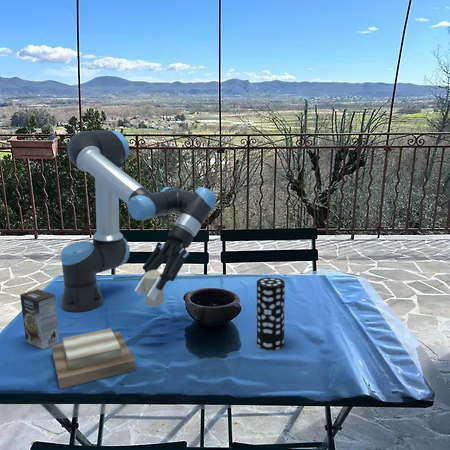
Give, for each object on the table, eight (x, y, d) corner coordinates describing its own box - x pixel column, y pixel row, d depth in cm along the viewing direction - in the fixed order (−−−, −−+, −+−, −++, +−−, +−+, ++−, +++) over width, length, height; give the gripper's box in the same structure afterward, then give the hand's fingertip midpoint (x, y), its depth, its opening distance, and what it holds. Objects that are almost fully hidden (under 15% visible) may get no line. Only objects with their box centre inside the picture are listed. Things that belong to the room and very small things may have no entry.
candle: (160, 306, 133) (158, 274, 131) (142, 305, 135) (140, 273, 132) (166, 299, 139) (164, 268, 136) (149, 298, 140) (147, 267, 138)
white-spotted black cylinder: (266, 352, 133) (266, 288, 129) (251, 341, 140) (251, 280, 136) (289, 346, 137) (290, 283, 133) (274, 335, 144) (274, 275, 140)
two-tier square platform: (52, 354, 134) (50, 336, 133) (119, 340, 143) (118, 322, 141) (59, 389, 117) (57, 368, 115) (135, 370, 125) (134, 350, 124)
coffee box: (25, 342, 142) (18, 294, 139) (43, 334, 147) (37, 288, 144) (42, 350, 137) (36, 300, 134) (60, 341, 142) (55, 293, 139)
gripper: (211, 243, 137) (171, 309, 129) (172, 233, 150) (133, 293, 142) (197, 229, 132) (155, 297, 125) (158, 220, 145) (118, 282, 137)
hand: (144, 295), depth 133 cm, fingers closed on candle, 5 cm apart
